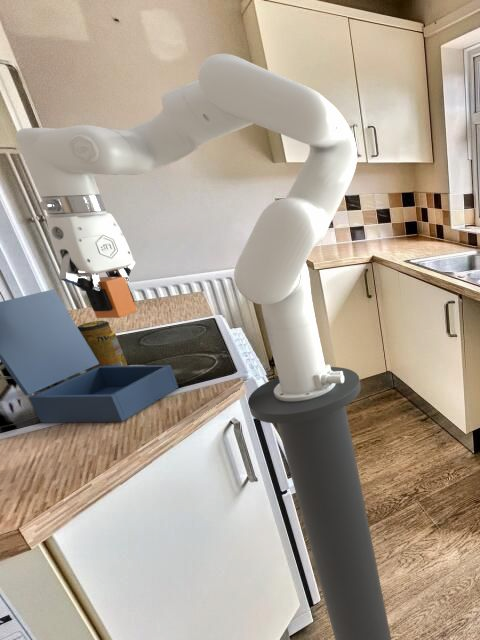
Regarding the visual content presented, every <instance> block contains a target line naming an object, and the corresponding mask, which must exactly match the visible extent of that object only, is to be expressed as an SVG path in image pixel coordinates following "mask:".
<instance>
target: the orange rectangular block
mask: <svg viewBox="0 0 480 640" xmlns="http://www.w3.org/2000/svg"><path fill="white" fill-rule="evenodd" d="M88 280H89V281H90V279H88ZM99 280H100V285H101V289H105V291H106V293H107V296H108V298H109V301H110V303H111V306H112V310H110V311H94V310H93V312H94V314H95V318H96V319H114V318H115V319H119V318H122V317H123V318H124V317H125V316H128V315H131V314H134V313H137V312H138V310H137V308H136V304H135V301H134V302H133V299H134V298H133V299H132V296H133V295H132V296H131V294H132V292H131V293H130V291H131V290H130V291H129V288H130V287H129V288H128V286H129V284H128V285H127V282H126V279H125V277H108V276H99Z"/></svg>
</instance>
